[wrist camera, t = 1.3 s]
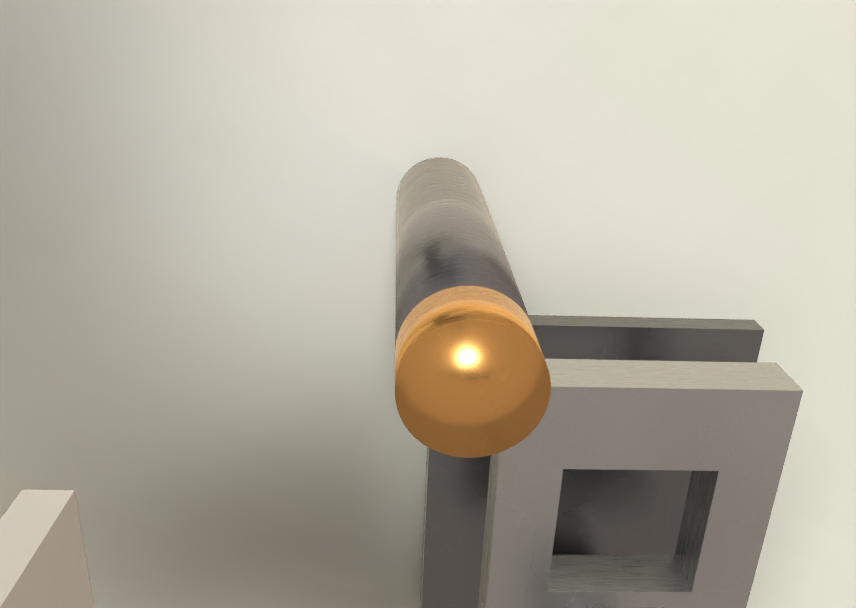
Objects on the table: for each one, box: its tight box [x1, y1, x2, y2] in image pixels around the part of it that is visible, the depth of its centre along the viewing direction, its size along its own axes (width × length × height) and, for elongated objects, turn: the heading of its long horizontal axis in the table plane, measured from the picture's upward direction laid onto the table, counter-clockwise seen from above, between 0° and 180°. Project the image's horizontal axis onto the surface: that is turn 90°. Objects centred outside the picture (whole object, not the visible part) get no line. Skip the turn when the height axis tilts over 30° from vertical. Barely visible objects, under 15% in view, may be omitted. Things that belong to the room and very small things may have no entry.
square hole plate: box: [421, 315, 803, 608], centre depth 29 cm, size 17×14×16 cm
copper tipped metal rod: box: [395, 158, 551, 458], centre depth 24 cm, size 3×3×16 cm
